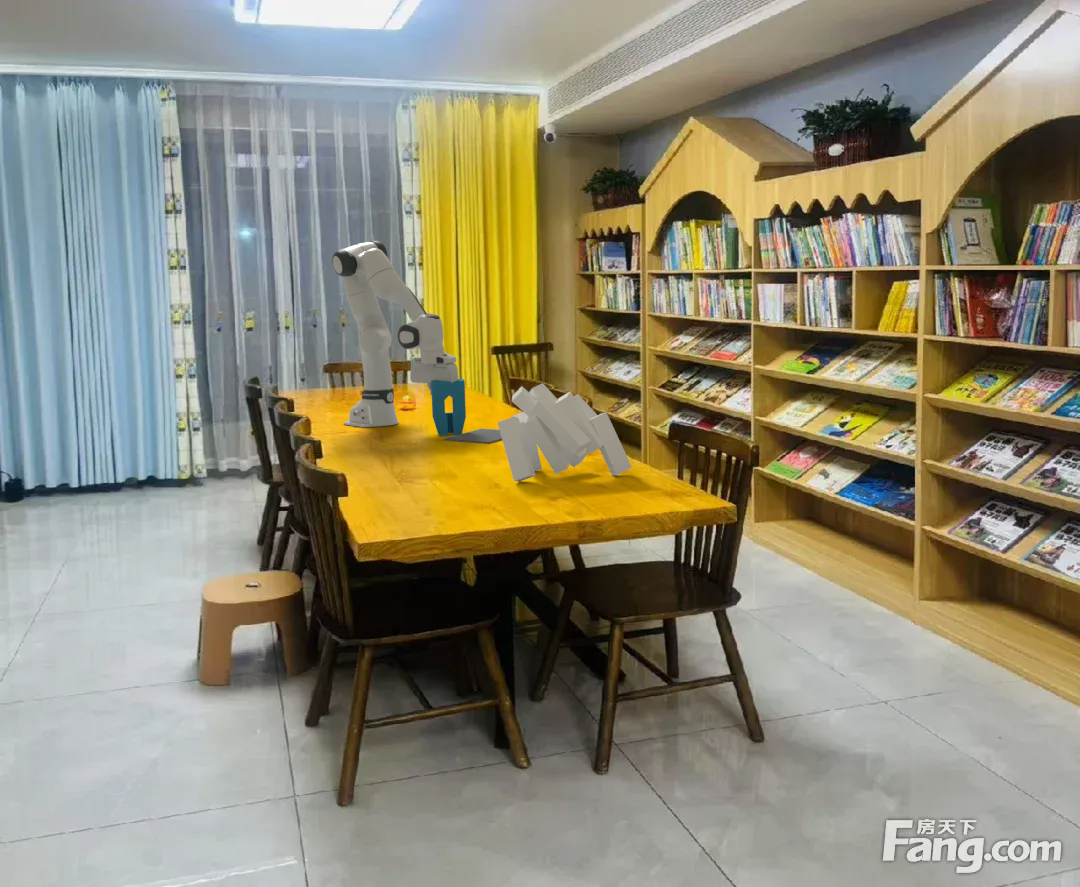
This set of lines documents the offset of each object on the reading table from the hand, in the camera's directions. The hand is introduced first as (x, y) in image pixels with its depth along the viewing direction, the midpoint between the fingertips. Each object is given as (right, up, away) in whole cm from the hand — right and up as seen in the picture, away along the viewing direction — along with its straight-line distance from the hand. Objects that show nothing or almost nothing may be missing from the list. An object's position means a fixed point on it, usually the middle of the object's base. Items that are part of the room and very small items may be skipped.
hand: (434, 395), depth 388 cm
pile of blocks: (+45, -28, -83) cm, 99 cm away
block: (+6, -15, 0) cm, 16 cm away
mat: (+19, -16, -9) cm, 26 cm away
